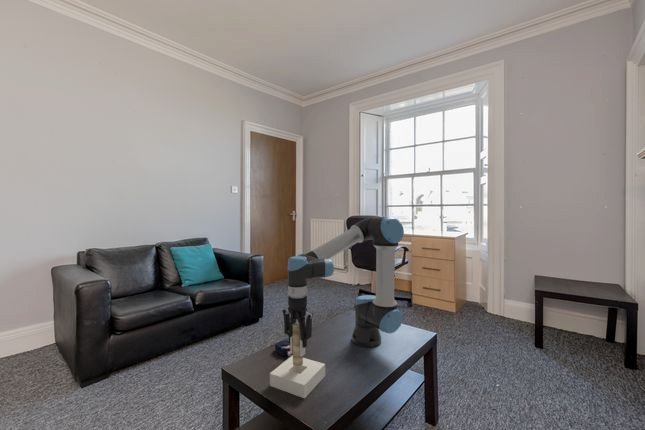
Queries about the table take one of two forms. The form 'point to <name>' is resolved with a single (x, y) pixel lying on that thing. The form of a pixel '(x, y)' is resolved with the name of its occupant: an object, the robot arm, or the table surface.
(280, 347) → the figurine
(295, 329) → the dowel
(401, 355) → the table surface
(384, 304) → the robot arm
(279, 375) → the socket block
